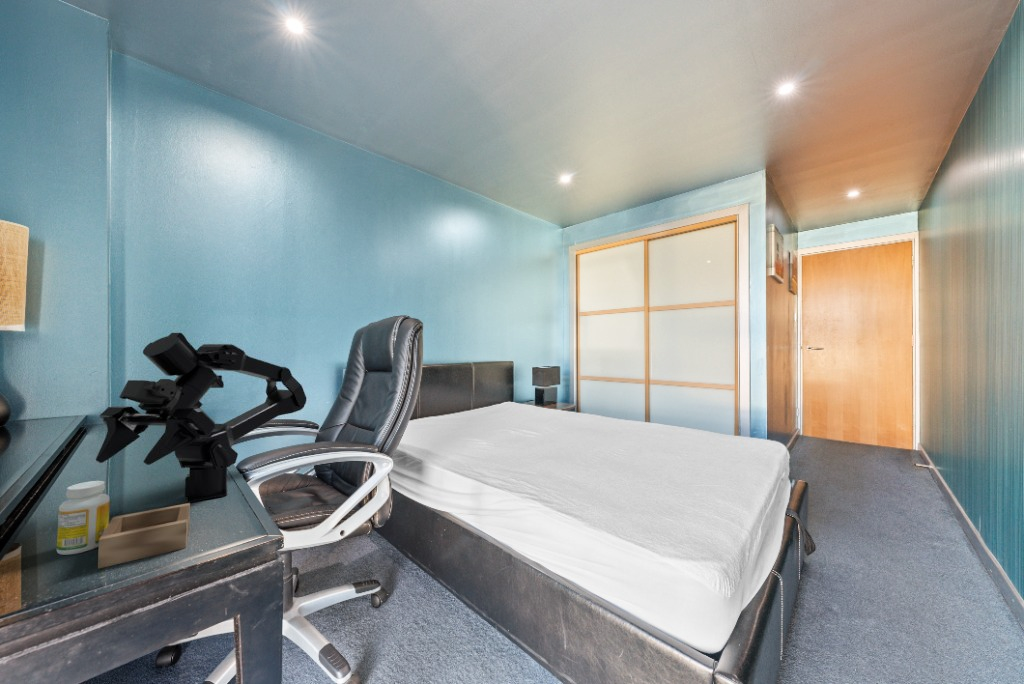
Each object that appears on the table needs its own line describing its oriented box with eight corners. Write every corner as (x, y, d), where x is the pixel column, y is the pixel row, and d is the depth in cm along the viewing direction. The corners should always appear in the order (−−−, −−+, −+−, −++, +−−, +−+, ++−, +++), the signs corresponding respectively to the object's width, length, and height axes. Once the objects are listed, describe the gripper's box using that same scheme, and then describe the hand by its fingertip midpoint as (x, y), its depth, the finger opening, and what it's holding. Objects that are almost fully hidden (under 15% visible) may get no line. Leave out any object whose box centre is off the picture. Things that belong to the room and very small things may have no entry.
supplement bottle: (64, 559, 56) (67, 493, 56) (50, 551, 58) (52, 487, 58) (115, 542, 61) (117, 482, 61) (99, 535, 63) (101, 477, 63)
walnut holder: (189, 525, 66) (190, 502, 67) (185, 547, 59) (186, 521, 59) (112, 542, 61) (113, 516, 61) (97, 568, 53) (98, 539, 53)
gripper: (113, 363, 71) (30, 434, 60) (203, 364, 69) (134, 438, 58) (155, 400, 79) (89, 469, 68) (237, 401, 77) (183, 473, 66)
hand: (122, 462), depth 65 cm, fingers open, 9 cm apart
